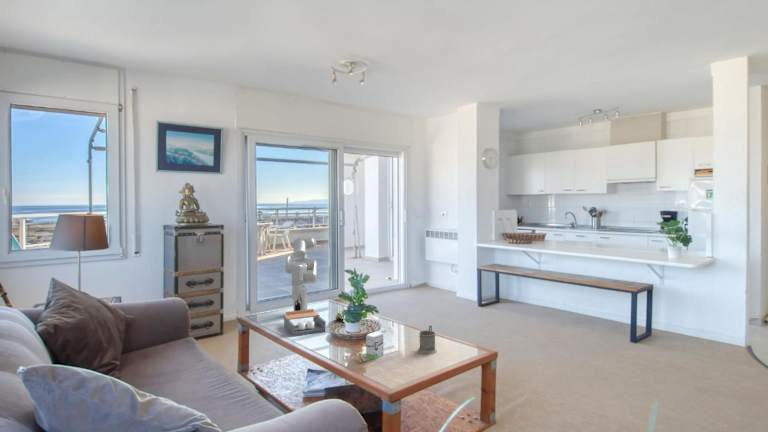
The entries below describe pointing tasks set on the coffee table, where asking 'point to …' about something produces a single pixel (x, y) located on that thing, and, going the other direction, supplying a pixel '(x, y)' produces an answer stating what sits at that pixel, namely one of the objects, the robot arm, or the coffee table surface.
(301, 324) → the peg
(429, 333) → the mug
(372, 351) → the ink box
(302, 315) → the lid
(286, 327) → the housing
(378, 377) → the coffee table surface
